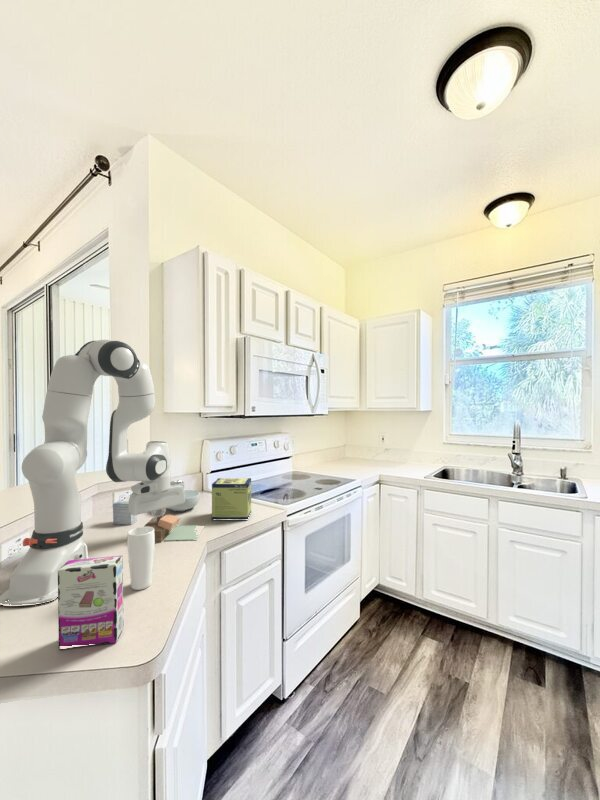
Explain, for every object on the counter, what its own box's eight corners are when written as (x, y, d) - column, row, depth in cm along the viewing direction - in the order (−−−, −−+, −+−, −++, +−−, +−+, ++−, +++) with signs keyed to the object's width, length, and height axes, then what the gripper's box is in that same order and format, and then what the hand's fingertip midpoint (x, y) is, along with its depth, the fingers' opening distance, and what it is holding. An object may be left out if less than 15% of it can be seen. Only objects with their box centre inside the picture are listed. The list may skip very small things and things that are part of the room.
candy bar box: (124, 628, 77) (124, 554, 77) (116, 643, 72) (116, 564, 72) (68, 634, 75) (68, 558, 75) (57, 651, 70) (56, 569, 70)
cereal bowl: (184, 516, 150) (184, 500, 150) (153, 512, 156) (153, 497, 156) (207, 505, 167) (207, 490, 167) (178, 502, 172) (178, 487, 172)
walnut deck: (161, 542, 123) (161, 531, 123) (138, 543, 123) (137, 531, 123) (173, 527, 137) (173, 517, 137) (152, 528, 137) (152, 518, 137)
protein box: (248, 520, 145) (248, 483, 145) (211, 520, 145) (211, 483, 145) (251, 512, 156) (251, 477, 156) (217, 512, 156) (217, 478, 156)
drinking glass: (147, 576, 100) (147, 524, 100) (159, 584, 95) (159, 529, 95) (123, 586, 94) (122, 531, 94) (134, 595, 90) (134, 537, 90)
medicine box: (137, 521, 145) (137, 500, 145) (131, 525, 141) (131, 503, 141) (119, 520, 146) (119, 500, 146) (112, 524, 141) (112, 503, 141)
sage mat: (196, 540, 125) (196, 539, 125) (164, 541, 125) (164, 540, 125) (205, 526, 139) (205, 525, 139) (175, 526, 138) (175, 525, 138)
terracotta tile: (170, 530, 126) (172, 523, 126) (157, 525, 127) (159, 519, 127) (178, 523, 133) (180, 517, 133) (165, 519, 134) (167, 513, 134)
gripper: (180, 478, 140) (180, 512, 140) (126, 487, 126) (126, 525, 126) (187, 480, 135) (188, 516, 136) (132, 490, 121) (133, 530, 121)
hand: (158, 520), depth 130 cm, fingers closed
